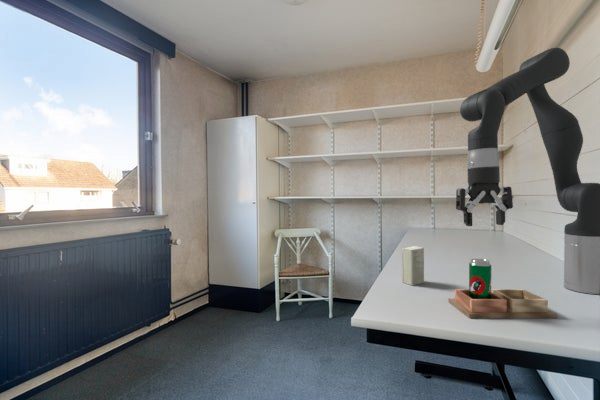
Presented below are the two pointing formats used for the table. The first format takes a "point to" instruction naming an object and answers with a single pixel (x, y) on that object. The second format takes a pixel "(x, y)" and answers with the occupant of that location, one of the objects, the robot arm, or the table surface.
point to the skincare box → (413, 265)
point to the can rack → (502, 304)
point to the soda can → (480, 279)
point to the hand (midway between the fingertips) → (484, 225)
